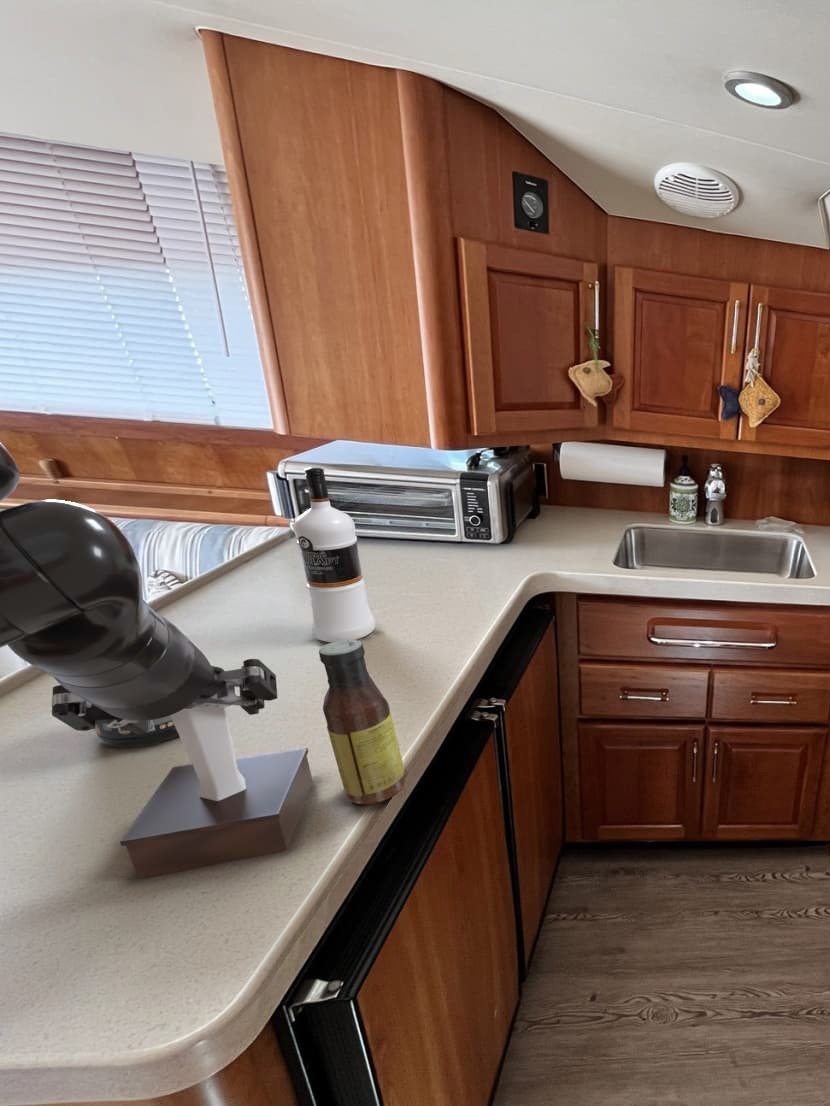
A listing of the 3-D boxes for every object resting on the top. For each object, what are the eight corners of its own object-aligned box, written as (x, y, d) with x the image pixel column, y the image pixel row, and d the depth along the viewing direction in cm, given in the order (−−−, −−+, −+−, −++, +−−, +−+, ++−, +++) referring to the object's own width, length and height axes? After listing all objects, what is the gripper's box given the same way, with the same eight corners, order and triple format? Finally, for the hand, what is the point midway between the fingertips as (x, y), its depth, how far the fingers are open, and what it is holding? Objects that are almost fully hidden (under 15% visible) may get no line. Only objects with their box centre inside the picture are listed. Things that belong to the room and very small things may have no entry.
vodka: (387, 631, 117) (360, 468, 106) (334, 649, 109) (298, 475, 98) (356, 619, 121) (326, 460, 110) (302, 635, 113) (264, 466, 102)
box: (134, 881, 63) (119, 842, 61) (185, 802, 73) (173, 766, 71) (289, 851, 68) (278, 813, 66) (315, 781, 78) (307, 747, 76)
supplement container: (123, 714, 88) (94, 635, 83) (220, 702, 92) (198, 627, 87) (81, 757, 79) (47, 672, 74) (191, 743, 83) (165, 661, 79)
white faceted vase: (188, 807, 66) (145, 681, 60) (204, 782, 69) (166, 660, 64) (244, 798, 68) (207, 675, 62) (257, 774, 71) (224, 655, 66)
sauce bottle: (414, 774, 81) (390, 633, 74) (394, 806, 75) (365, 658, 68) (357, 776, 80) (327, 633, 72) (332, 809, 74) (297, 658, 67)
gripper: (242, 609, 56) (285, 667, 70) (5, 634, 49) (103, 694, 62) (247, 688, 54) (290, 733, 67) (-1, 726, 47) (102, 768, 60)
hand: (200, 714), depth 65 cm, fingers open, 8 cm apart
